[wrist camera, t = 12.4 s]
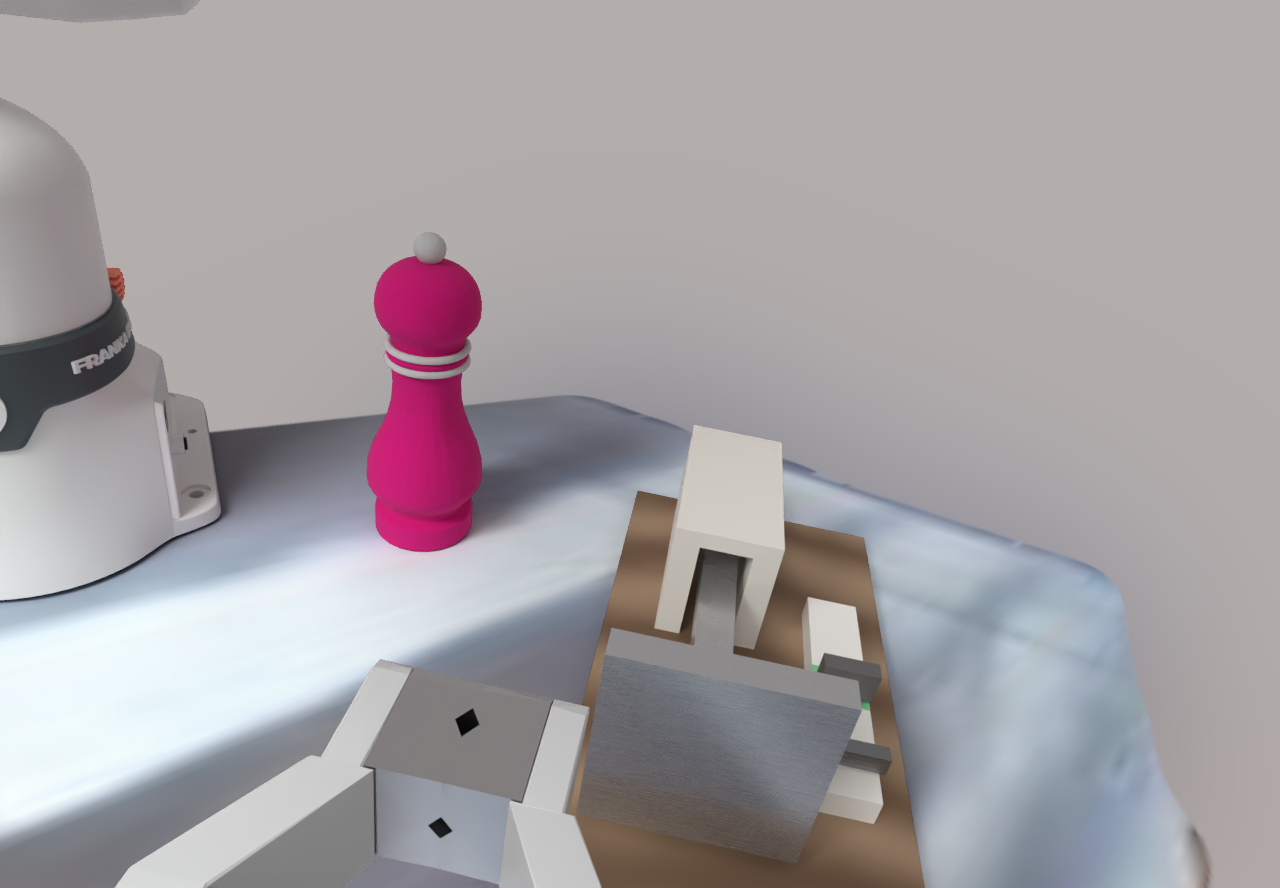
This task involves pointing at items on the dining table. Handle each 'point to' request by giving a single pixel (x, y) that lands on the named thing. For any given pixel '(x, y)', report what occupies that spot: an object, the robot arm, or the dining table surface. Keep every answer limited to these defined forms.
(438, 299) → the pepper mill
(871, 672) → the block
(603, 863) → the board
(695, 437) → the block
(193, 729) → the dining table surface
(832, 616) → the gauge scale
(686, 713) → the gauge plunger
